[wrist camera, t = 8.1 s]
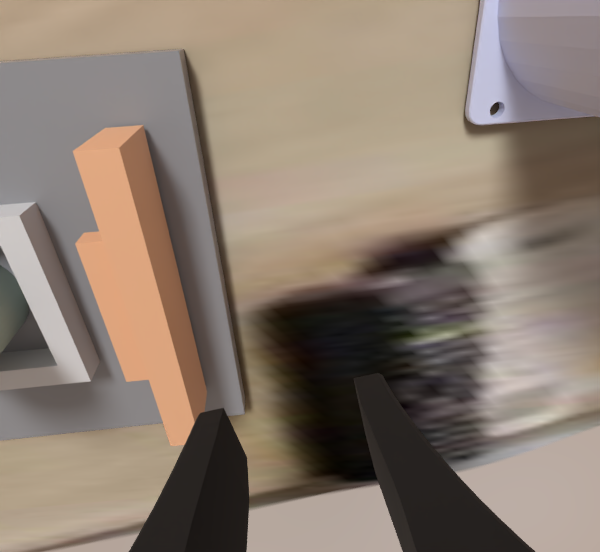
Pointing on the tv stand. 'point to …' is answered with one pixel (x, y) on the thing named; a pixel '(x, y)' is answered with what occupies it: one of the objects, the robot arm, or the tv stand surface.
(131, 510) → the tv stand surface
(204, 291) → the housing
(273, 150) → the tv stand surface
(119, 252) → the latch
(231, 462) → the robot arm
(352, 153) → the tv stand surface
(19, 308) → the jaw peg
